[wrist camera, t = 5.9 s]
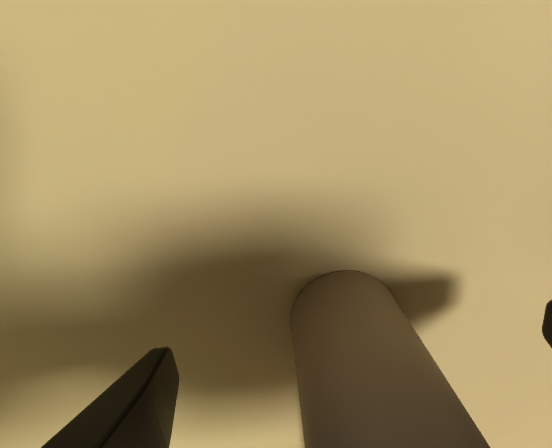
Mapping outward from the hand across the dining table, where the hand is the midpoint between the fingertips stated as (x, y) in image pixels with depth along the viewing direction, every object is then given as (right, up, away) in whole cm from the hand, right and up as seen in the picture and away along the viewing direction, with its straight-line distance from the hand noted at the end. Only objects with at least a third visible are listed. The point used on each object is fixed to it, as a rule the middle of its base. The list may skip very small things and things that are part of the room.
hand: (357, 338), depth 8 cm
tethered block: (0, -6, +4) cm, 7 cm away
